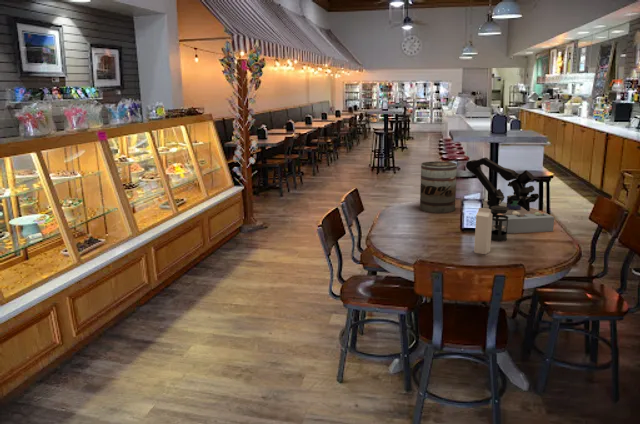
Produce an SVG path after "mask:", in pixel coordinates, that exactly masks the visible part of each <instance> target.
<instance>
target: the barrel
mask: <svg viewBox="0 0 640 424" xmlns="http://www.w3.org/2000/svg"><path fill="white" fill-rule="evenodd" d="M457 172H458V164H457V163H456V162H451V161H440V160H439V161H426V162H422V163H421V164H420V194H419V197H420V198H419V200H420V201H419V210H420V211H421V212H424V213H428V214H437V215H438V214H439V215H440V214H443V215H444V214H451V213H454V212H455V211H456V199H457V198H456V196H457V193H456V191H457V176H458V175H457V174H458V173H457Z"/></svg>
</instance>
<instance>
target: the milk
mask: <svg viewBox="0 0 640 424" xmlns="http://www.w3.org/2000/svg"><path fill="white" fill-rule="evenodd" d="M492 215H493V214H492V213H491V209H489V208H485V207H478V210H477V213H476V215H475V230H474V246H473V247H474V248H473V249H474V250H473V253H474V254H475V253H476V254H481V255H487V254H489V253H490V252H491V245H492V244H491V243H492V242H491V241H492V240H491V231H492Z"/></svg>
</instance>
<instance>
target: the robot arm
mask: <svg viewBox="0 0 640 424" xmlns="http://www.w3.org/2000/svg"><path fill="white" fill-rule="evenodd" d="M482 166H486V167H487V168H488V169H490V170H493V172H496V173H498V174H499V175H500V176H501V178H503V180H504V181H507V182H508V183H507V187H511V188H512V190H513V194H511V196H510V195H509V196H510V197H509V198H508V199H507V198H506V204H507V203H508V204H513V201H518V203H517V205H520V206H521V208H522V209H524V210H525V211H527V212H530V211H531V207H530V206H531V205H530V204H531V203H534V202H535V203H536V201H537V200H538V199H539V198H540V195H539V193H537V192H536V193H533V192H534V191H535V187H534V185H530V186H526V187H525V186H523V185H527V184H529V183H530V182H531V181H534V178H535V177H534V175H533V173H531V172H530V171H528V170H527V169H526V170H524V171H523V172H522V173H518V172H516V171H515V170H513V169H511V168H506V167H503V166H502V165H500V164H499V163H496V162H494V161H493V160H491V159H489V158H488V157H487V156H486V157H482V158H480V159H472V160H468V161H467V162H466V164H465V168H466V169H467V170H468V171H469V172H470V173H472V174H473V175H475V177H476V178H477V180H478V181H479V182H480V184H481V185H482V186H483V187H484V189H485V190H486V192H487V193H488V196H489V199H488V201H486V204H487V206H488V209H491V207H492V206H501V204H502V202H503V201H504V200H505V198H501V202H500V200H499V198H497V197H496V196H504V197H505V195H504V192H503V191H502V190H501V188H499V189H497V188H496V187H495V186H494V185H493V183H492V182H491V181H490V180H489V178H488V177H487V176H486V175H485V173H484V172H483V171H482ZM530 193H531V194H530ZM514 194H516V195H514ZM491 213H492V214H493V215H497V214H499V213H493V212H491Z"/></svg>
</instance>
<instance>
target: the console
mask: <svg viewBox="0 0 640 424" xmlns="http://www.w3.org/2000/svg"><path fill="white" fill-rule="evenodd" d="M541 214H542V216H536V215H534V213H526V214H523V216H520V217H517V216H515V215H512V214H505V216H507V217H508V226H507V221H502V225H503V226H507V235H508V234H528V233H545V232H547V233H548V232H554V228H555V227H554V226H555V217H554V216H553V215H550V214H548V213H545V212H544V213H542V212H541ZM492 218H496V217H492ZM499 219H506V218H499ZM492 225H495V221H493V220H492ZM492 230H494V229H492ZM492 230H491V231H492ZM502 231H505V232H506V229H505V230H502Z"/></svg>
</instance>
